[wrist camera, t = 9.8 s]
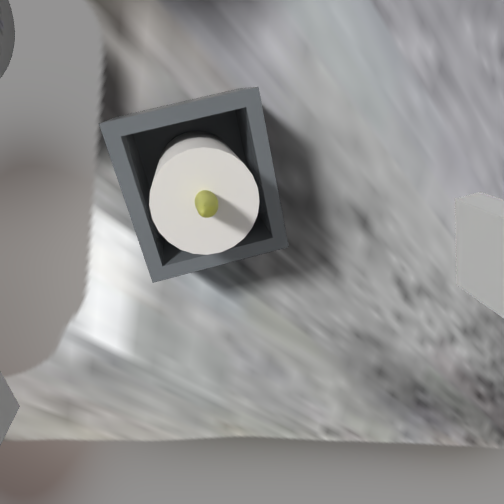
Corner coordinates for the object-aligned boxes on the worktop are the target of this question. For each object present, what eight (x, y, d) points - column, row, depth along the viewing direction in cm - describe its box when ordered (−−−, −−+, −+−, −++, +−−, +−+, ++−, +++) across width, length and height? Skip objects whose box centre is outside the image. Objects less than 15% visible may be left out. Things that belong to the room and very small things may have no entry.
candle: (187, 225, 35) (193, 312, 21) (141, 158, 33) (113, 206, 19) (251, 186, 35) (300, 248, 21) (210, 115, 32) (234, 132, 18)
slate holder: (115, 117, 32) (98, 123, 25) (241, 88, 33) (258, 86, 26) (157, 247, 36) (152, 282, 29) (268, 218, 37) (288, 247, 30)
